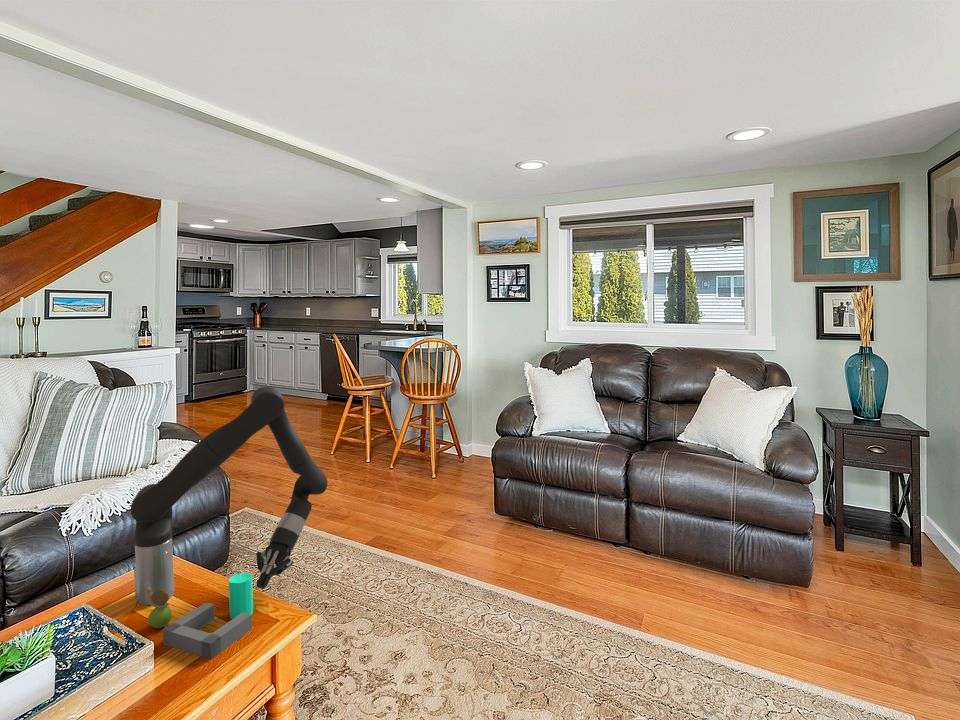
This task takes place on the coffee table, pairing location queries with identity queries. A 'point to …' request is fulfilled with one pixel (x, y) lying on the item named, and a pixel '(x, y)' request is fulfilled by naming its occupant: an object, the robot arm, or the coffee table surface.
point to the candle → (240, 594)
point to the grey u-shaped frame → (203, 643)
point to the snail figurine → (158, 607)
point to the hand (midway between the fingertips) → (260, 587)
